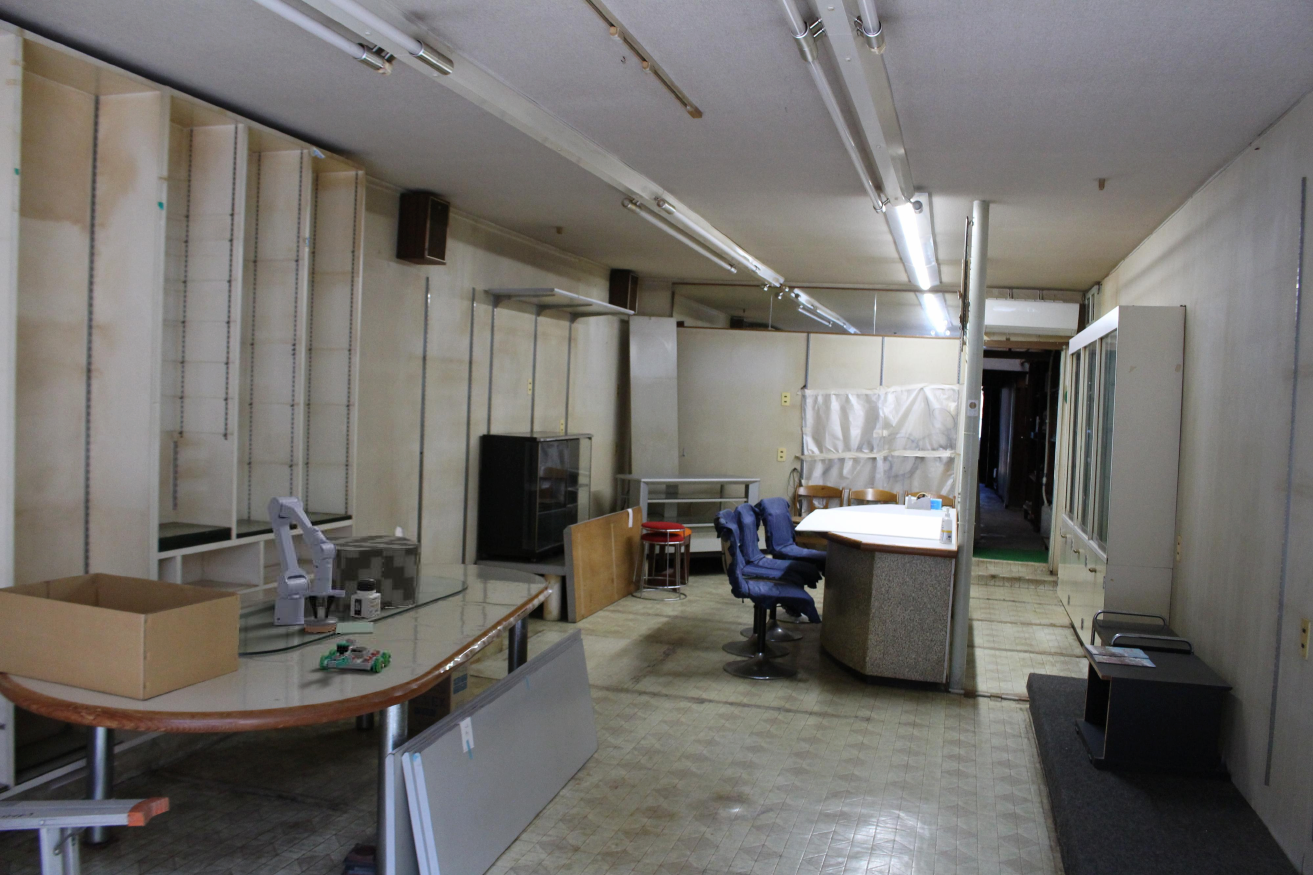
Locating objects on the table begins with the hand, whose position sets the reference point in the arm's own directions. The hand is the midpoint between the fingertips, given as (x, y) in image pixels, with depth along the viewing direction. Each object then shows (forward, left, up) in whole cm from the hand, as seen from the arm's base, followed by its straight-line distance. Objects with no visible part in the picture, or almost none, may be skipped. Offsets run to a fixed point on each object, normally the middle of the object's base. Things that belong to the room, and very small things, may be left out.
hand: (321, 617), depth 305 cm
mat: (+11, 0, -4) cm, 12 cm away
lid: (0, 0, -1) cm, 1 cm away
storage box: (+14, +46, -4) cm, 48 cm away
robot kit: (+11, -51, -4) cm, 52 cm away
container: (+14, +20, -4) cm, 25 cm away
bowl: (0, 0, -4) cm, 4 cm away
